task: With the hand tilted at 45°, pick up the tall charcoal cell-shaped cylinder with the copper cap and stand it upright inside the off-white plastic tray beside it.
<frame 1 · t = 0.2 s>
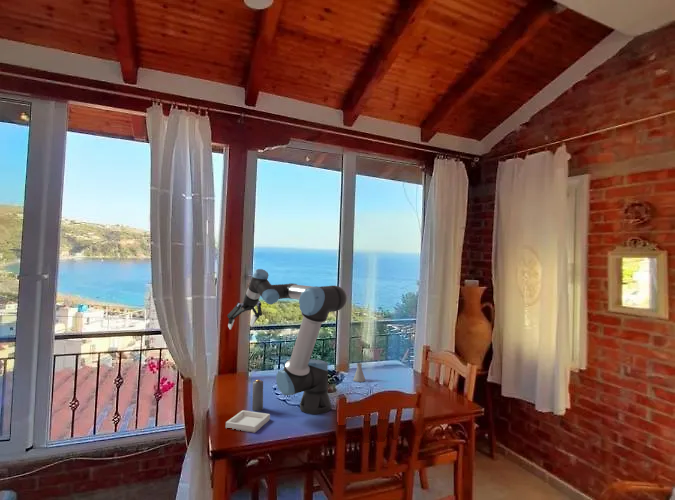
hand: (240, 326, 221), 35 cm above the table, tool tilted 35°, fingers open, 13 cm apart
flask: (359, 380, 239), on the table
tray: (248, 423, 178), on the table
charcoal cell: (257, 409, 194), on the table
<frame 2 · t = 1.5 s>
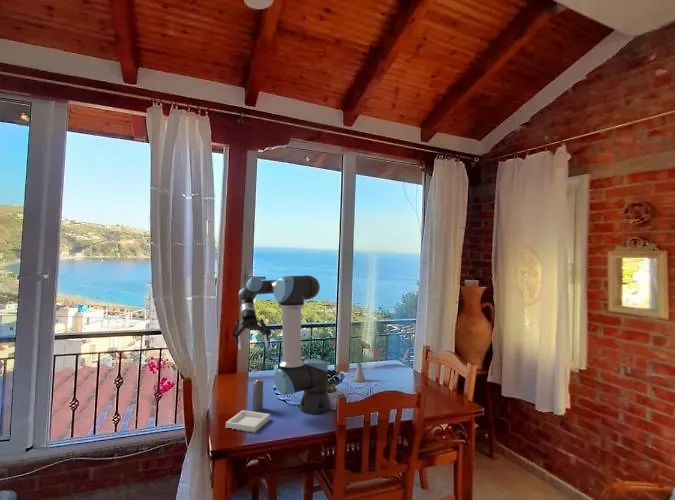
hand: (253, 347, 204), 27 cm above the table, tool tilted 45°, fingers open, 13 cm apart
nothing on the table moved.
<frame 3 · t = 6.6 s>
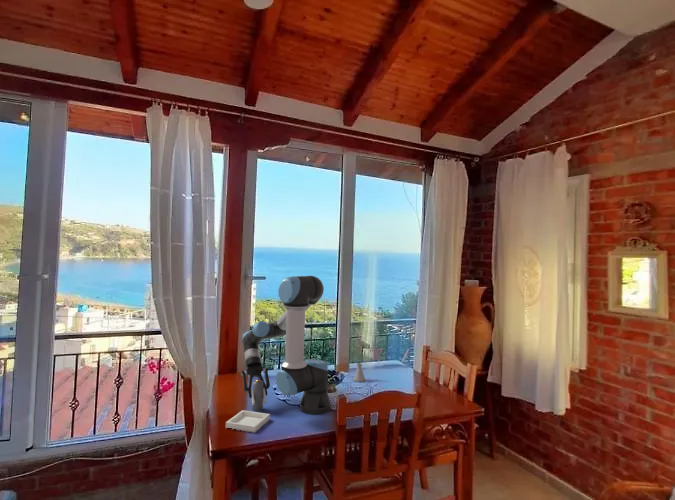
hand: (259, 403, 191), 4 cm above the table, tool tilted 45°, fingers closed on charcoal cell, 5 cm apart
charcoal cell: (257, 409, 194), on the table, touching gripper
everything else where it was.
when the fingers open (6 cm above the table, at t = 13.2 s): charcoal cell drops 1 cm, resting on tray.
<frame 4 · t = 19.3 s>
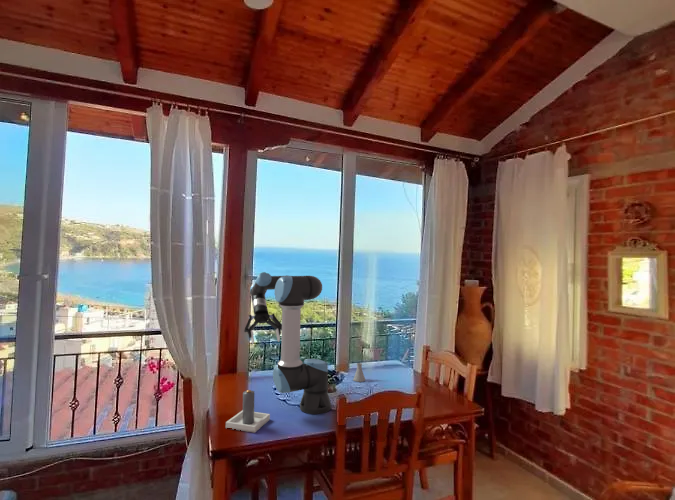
hand: (266, 341, 208), 30 cm above the table, tool tilted 45°, fingers open, 13 cm apart
charcoal cell: (248, 422, 178), point 1 cm above the table, touching tray
everything else where it was.
at the end: charcoal cell inside the target area on the tray (0.1 cm from its centre), point 0.6 cm above the tray's base; charcoal cell tilted 0°; the gripper is holding nothing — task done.
